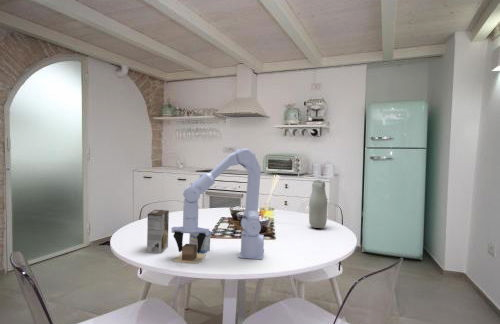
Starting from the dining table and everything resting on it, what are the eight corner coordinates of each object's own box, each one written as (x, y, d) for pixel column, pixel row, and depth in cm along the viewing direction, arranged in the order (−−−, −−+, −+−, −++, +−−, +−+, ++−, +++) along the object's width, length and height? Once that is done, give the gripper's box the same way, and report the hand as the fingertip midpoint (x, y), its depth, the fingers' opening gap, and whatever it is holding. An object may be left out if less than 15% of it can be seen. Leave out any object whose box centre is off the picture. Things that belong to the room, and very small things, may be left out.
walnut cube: (193, 260, 115) (193, 247, 115) (181, 260, 116) (182, 247, 116) (196, 256, 120) (197, 244, 120) (185, 256, 120) (186, 243, 120)
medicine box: (188, 250, 128) (189, 230, 127) (194, 247, 132) (194, 228, 132) (205, 253, 125) (205, 232, 125) (210, 250, 129) (210, 230, 129)
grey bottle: (327, 227, 177) (329, 180, 177) (323, 231, 168) (325, 181, 167) (311, 225, 182) (313, 179, 181) (306, 228, 173) (308, 180, 172)
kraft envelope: (206, 254, 123) (206, 254, 123) (199, 263, 113) (199, 262, 113) (182, 253, 124) (182, 252, 124) (173, 261, 114) (173, 260, 114)
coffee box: (153, 246, 132) (154, 209, 132) (168, 246, 132) (169, 210, 132) (146, 252, 123) (147, 213, 123) (161, 253, 123) (162, 214, 123)
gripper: (211, 216, 121) (210, 249, 121) (176, 214, 122) (175, 247, 123) (206, 219, 114) (205, 255, 114) (169, 217, 115) (168, 252, 116)
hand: (189, 251), depth 118 cm, fingers open, 7 cm apart
